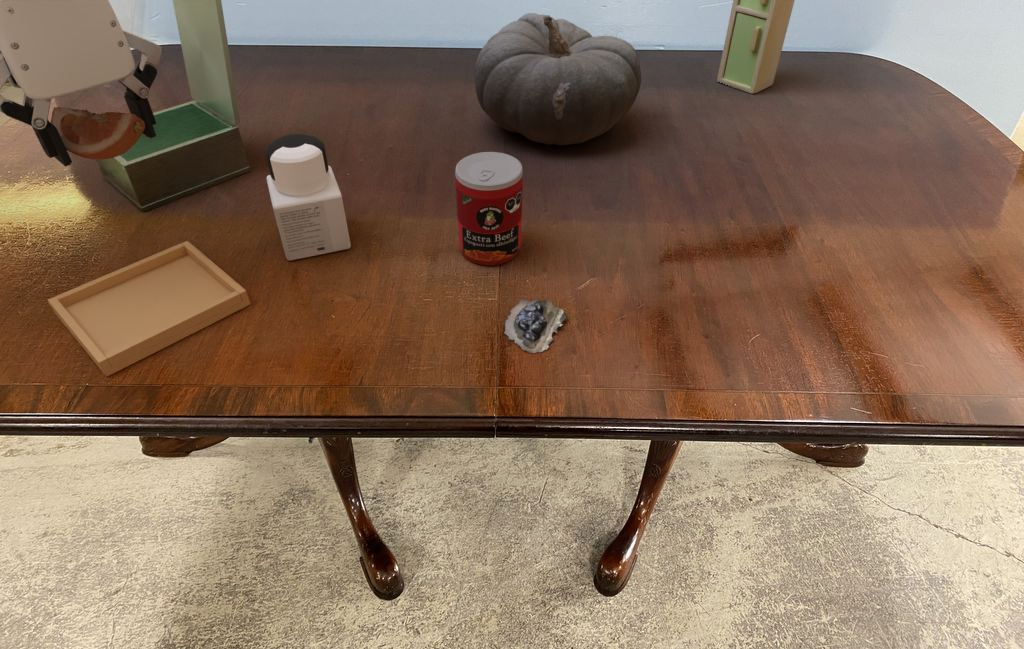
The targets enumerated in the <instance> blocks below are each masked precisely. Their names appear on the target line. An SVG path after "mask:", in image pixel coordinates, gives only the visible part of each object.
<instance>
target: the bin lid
mask: <svg viewBox="0 0 1024 649" xmlns="http://www.w3.org/2000/svg"><path fill="white" fill-rule="evenodd" d="M172 5H173V10H174V14H175V21H176V25H177V30H178V35H179V41H180V46H181V47H180V48H181V51H182V55H183V62H184V67H185V73H186V78H187V82H188V83H187V84H188V87H189V93H190V98H192V99H193V100H195V101H197V102H198V103H200V104H202V105H203V106H205V107H207V108H208V109H210V110H212V111H213V112H215V113H216V114H218V115H220V116H221V117H223V118H225V119H226V120H228V121H230V122H231V123H233V124H234V125H237V124H240V123H241V119H240V113H239V107H238V99H237V94H236V88H235V80H234V75H233V68H232V67H233V66H232V62H231V54H230V47H229V43H228V36H227V29H226V22H225V17H224V16H225V15H224V10H223V2H222V0H172Z"/></svg>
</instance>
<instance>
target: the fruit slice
mask: <svg viewBox="0 0 1024 649" xmlns="http://www.w3.org/2000/svg"><path fill="white" fill-rule="evenodd" d="M50 123H52V124H53V125H54V126H55V127H56V128H57V130H58V132H59V135H60V137H61V139H62V141H63V143H64V145H65V147H66V150H67V152H68V153H69V152H70V153H71V154H73V155H76V156H79V157H81V158H84V159H89V160H96V159H109V158H114V157H117V156H120V155H122V154H124V153H125V152H127V151H128V150H129V149H130V148H131V147H132V146H133V145H134V144H135V143H136V142H137V141H138V139H139V138H140V137H141V135H142V133H143V131H144V129H145V123H144V121H143V120H142V119H141V118H139V117H137V116H136V115H135V114H131V113H126V112H118V111H117V112H115V111H106V112H102V113H95V112H91V111H89V110H88V109H87V108H86V109H80V108H79V109H78V108H77V109H76V108H71V107H62V106H53V109H52V112H51V117H50Z"/></svg>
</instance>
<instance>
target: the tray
mask: <svg viewBox="0 0 1024 649" xmlns="http://www.w3.org/2000/svg"><path fill="white" fill-rule="evenodd" d="M47 302H48V304H49V305H50V307H51V309H52V310H53V313H54V314H55V316H56V317H58V319H59V320H60V322H61V323H62V324H63V325H64V326H65V327H66V329H67V330H68V331H69V332H70V334H71V336H72V337H74V339H75V341H77V342H78V344H79V345H80V346H81V348H82V349H83V350H84V351H85V352H86V353H87V355H88V356H89V357H90V359H91V360H92V361H93V362H94V363H95V365H96V366H97V367H98V368H99V370H100V371H101V372H102V373H103V375H104V376H105V377H109V376H111V375H113V374H115V373H117V372H119V371H122V370H123V369H126V368H128V367H129V366H131V365H133V364H135V363H137V362H139V361H141V360H143V359H145V358H147V357H149V356H151V355H153V354H155V353H157V352H159V351H161V350H163V349H166V348H167V347H169V346H172V345H173V344H175V343H177V342H179V341H180V340H183V339H185V338H187V337H189V336H191V335H193V334H195V333H197V332H199V331H200V330H202V329H205V328H206V327H209V326H211V325H213V324H214V323H215V324H216V322H218V321H220V320H223V319H225V318H227V317H228V316H231V315H232V314H234V313H236V312H238V311H240V310H242V309H245V308H246V307H248V306H251V301H250V298H249V295H248V293H247V290H246V289H245V288H244V287H243V286H241V285H240V284H239V283H238V282H237V281H236V280H234V279H233V278H232V277H231V276H230V275H229V274H227V273H226V272H225V271H224V270H223V269H222V268H220V267H219V266H218V265H217V264H216V263H214V262H213V261H212V260H211V259H210V258H209V257H207V256H206V255H205V254H204V253H203V252H201V251H200V250H199V249H198V248H197V247H196V246H194V245H193V244H192V242H191V243H190V242H189V241H188V240H186V241H184V242H181V243H178V244H176V245H173V246H171V247H169V248H167V249H164V250H161V251H160V252H157V253H155V254H152V255H150V256H148V257H145V258H143V259H141V260H138V261H136V262H134V263H130V264H128V265H126V266H124V267H121V268H119V269H117V270H114V271H113V272H110V273H107V274H105V275H103V276H100V277H98V278H95V279H93V280H90V281H88V282H86V283H84V284H80V285H79V286H77V287H74V288H72V289H69V290H67V291H65V292H62V293H60V294H57V295H55V296H53V297H50V298H48V299H47Z"/></svg>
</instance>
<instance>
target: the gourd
mask: <svg viewBox="0 0 1024 649" xmlns="http://www.w3.org/2000/svg"><path fill="white" fill-rule="evenodd" d="M474 66H475V67H474V88H475V93H476V98H477V101H478V103H479V106H480V108H481V109H482V111H483V112H484V113H485V114H486V115H487V116H488V117H489V118H490V119H491V120H492V121H493V122H494V123H495V124H496V125H497V126H499V127H500V128H502V129H503V130H504V131H508V132H510V133H517V134H518V133H519V134H520V135H523V136H524V137H525V138H526V139H527V140H529V141H532V142H535V143H539V144H544V145H550V146H551V145H556V146H569V145H576V144H581V143H584V142H587V141H589V140H592V139H593V138H596V137H599V136H602V135H603V134H605V133H606V132H607V131H609V130H610V129H611V128H612V127H613V126H614V125H615V124H616V123H617V122H618V121H620V120H621V119H622V118H623V117H624V116H625V115H626V114H627V113H628V112H629V111H630V110H631V108H632V107H633V105H634V104H635V102H636V100H637V97H638V95H639V92H640V89H641V85H642V70H641V63H640V60H639V56H638V52H637V51H636V49H635V47H634V46H633V45H632V44H631V43H630V42H628V41H627V40H625V39H624V38H621V37H617V36H613V35H597V36H596V35H595V36H593V35H592V34H591V33H590V32H589V31H587V30H586V29H584V28H582V27H580V26H577V25H576V24H574V23H573V22H570V21H569V20H567V19H563V18H557V19H555V18H554V17H552V16H551V15H549V14H548V15H547V14H539V13H537V12H528V13H525V14H523V15H522V16H520V17H519V18H518V19H517V20H514V21H512V22H510V23H508V24H506V25H504V26H503V27H501V29H500V30H498V32H496V33H495V34H494V35H491V37H490V38H488V40H487V42H486V43H485V44H484V46H483V47H482V48H481V50H480V52H479V53H478V56H477V58H476V61H475V65H474Z"/></svg>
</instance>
